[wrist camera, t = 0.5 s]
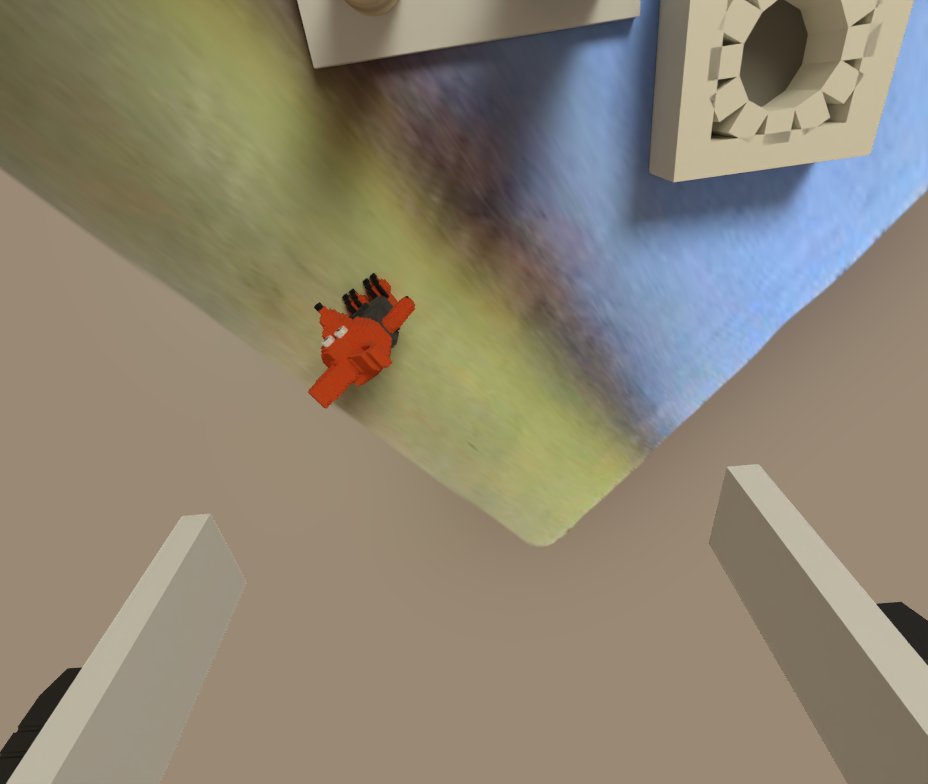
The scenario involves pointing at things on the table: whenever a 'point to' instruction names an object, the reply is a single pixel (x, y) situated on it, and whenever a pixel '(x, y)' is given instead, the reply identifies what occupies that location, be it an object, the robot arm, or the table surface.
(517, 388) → the table surface
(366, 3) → the beech dowel
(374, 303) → the toy animal
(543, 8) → the strip
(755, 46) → the socket block
